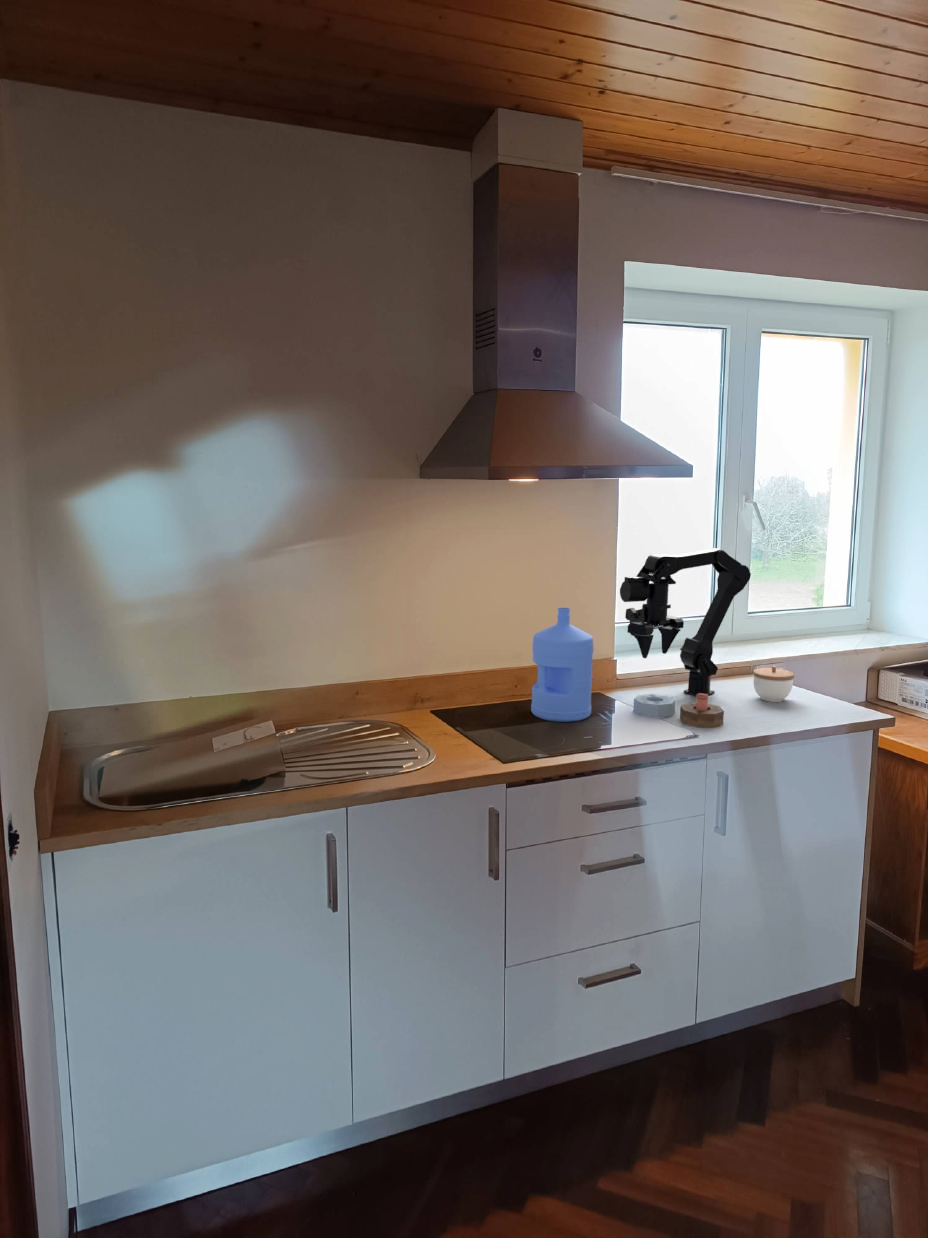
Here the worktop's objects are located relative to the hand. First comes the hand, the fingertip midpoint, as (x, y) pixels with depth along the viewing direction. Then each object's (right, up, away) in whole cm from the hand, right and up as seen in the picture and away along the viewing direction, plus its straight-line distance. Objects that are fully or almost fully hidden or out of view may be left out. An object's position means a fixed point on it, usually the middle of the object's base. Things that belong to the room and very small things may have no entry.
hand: (654, 655), depth 239 cm
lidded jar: (+33, -12, +1) cm, 35 cm away
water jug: (-28, -15, -15) cm, 35 cm away
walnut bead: (+7, -16, -21) cm, 27 cm away
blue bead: (-3, -14, -12) cm, 19 cm away
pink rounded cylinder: (+7, -16, -20) cm, 27 cm away
